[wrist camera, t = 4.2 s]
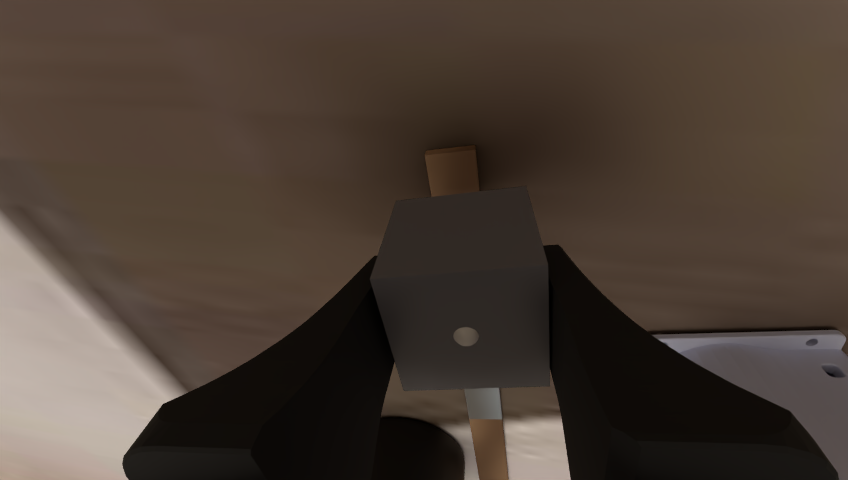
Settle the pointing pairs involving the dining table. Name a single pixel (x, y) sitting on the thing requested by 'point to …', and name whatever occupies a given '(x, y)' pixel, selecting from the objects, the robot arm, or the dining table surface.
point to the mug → (415, 452)
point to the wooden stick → (457, 176)
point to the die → (465, 291)
